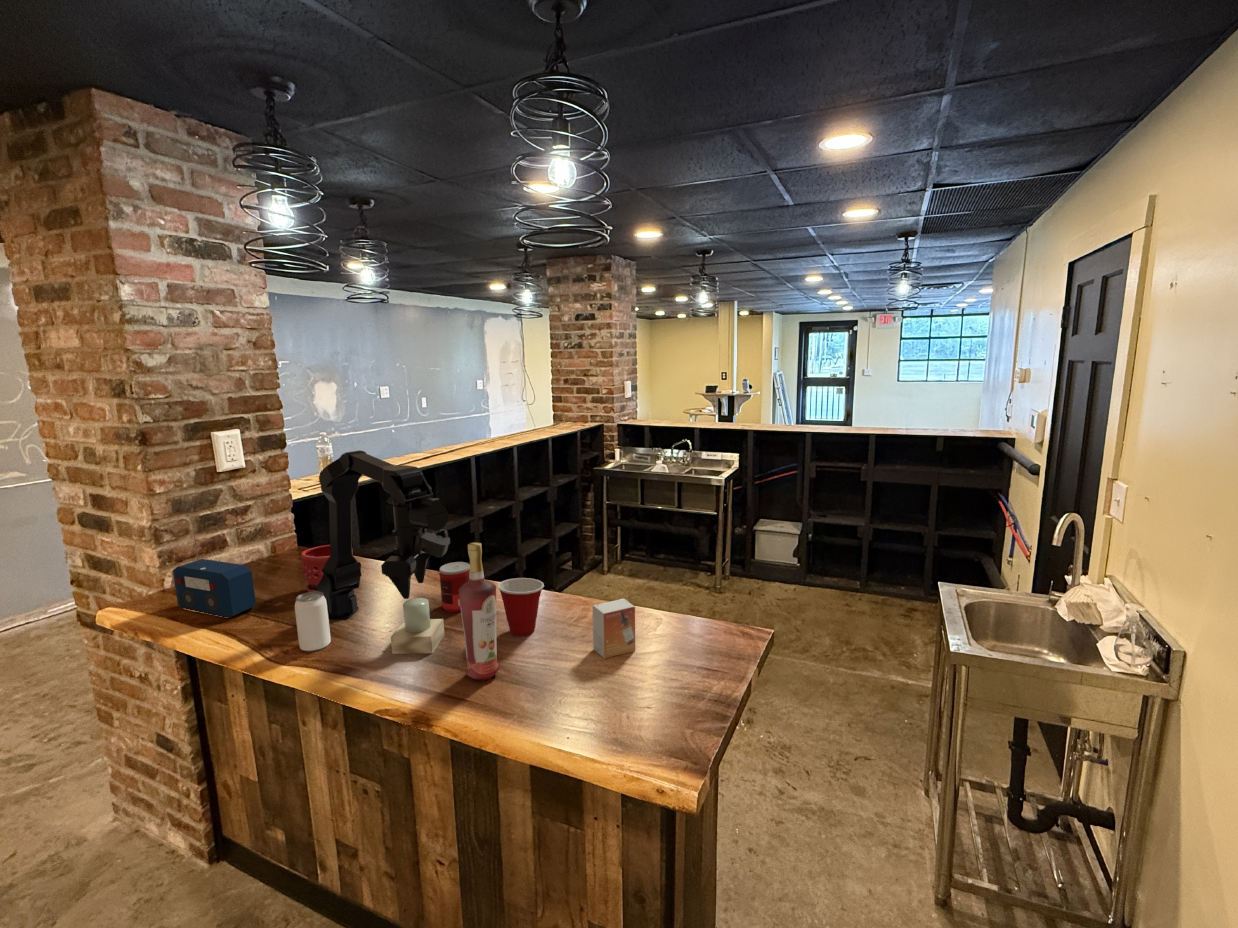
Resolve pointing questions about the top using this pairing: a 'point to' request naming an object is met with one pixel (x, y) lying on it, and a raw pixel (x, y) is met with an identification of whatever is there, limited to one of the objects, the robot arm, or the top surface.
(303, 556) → the plant pot
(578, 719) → the top surface
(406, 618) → the grey-green rounded piece
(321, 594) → the can
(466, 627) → the liquor
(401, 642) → the beech block
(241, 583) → the radio
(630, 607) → the small box
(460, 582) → the canned food
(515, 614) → the plastic cup
